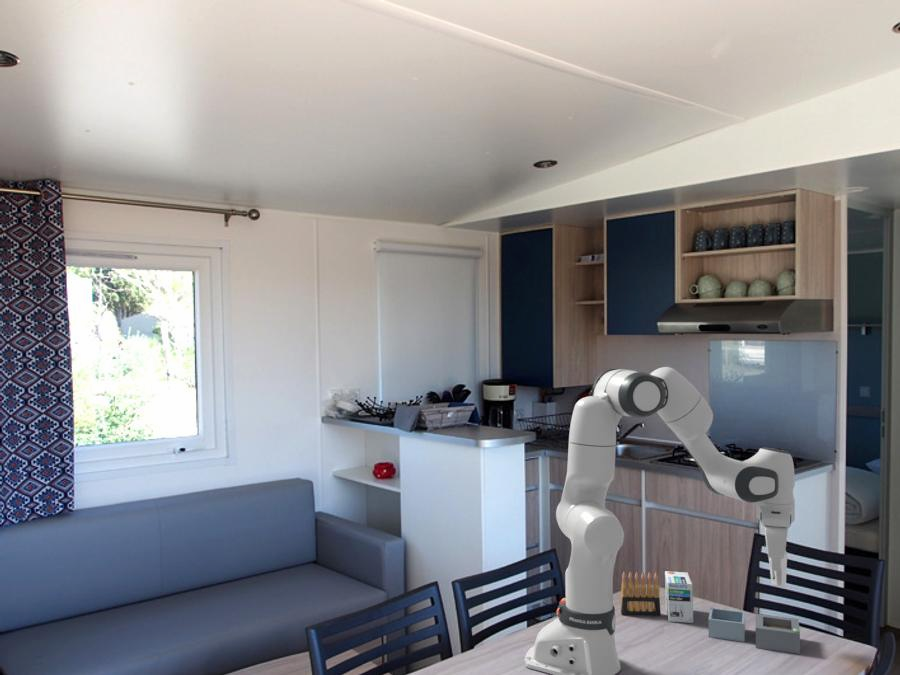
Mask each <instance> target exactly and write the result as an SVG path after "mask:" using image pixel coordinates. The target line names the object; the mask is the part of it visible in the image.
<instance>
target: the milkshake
mask: <svg viewBox="0 0 900 675" xmlns="http://www.w3.org/2000/svg"><path fill="white" fill-rule="evenodd" d="M765 549H766V550H765V551H767V548H765ZM767 557H768V556H767ZM768 563H769V564H768V565H769V574H770V580H771V582H770V583H771V585H772V586H773V587H778V588H783V587H786V585H787V570H788V569H787V568H788V566H787V564H788V552H787V550H785V556H784V559H780V570H779V571H774V570H772V560H771V558H769V557H768Z"/></svg>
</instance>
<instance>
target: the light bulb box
mask: <svg viewBox="0 0 900 675" xmlns="http://www.w3.org/2000/svg"><path fill="white" fill-rule="evenodd" d="M664 583H665V584H664V585H665V587H664V588H665V591H664V592H665V610H666V615H667V620H668V622H672V623H687V624H694V593H693V586H694V585H693V582H692V580H691V577H690V575H689V572H685V571H684V572H683V571H682V572H681V571H668V570H667V571H666V570H665V571H664Z"/></svg>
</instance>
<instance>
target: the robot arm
mask: <svg viewBox="0 0 900 675" xmlns="http://www.w3.org/2000/svg"><path fill="white" fill-rule="evenodd" d="M572 410H573V411H572V415H571V420H570V426H569V434H568V447H567V448H568V449H567V450H568V452H567V463H566V464H567V467H566V468H567V469H566V476H565V482H564V486H563V490H562V494H561V498H560V502H558V505H557V507H556V511H555V519H556V522H557V524H558V527H559V529H560V530H561V532H562V533H563V535H565V537H566V538H568V539H569V540H570V543H571V553H570V559H569V563H568V567H567V568H566V570H565V573H564V577H565V580H564V581H565V597H563V598H562V599H561V600H560V601H559V605H558V606H557V608H556V609H557V610H556V616H557V618H555V619H554V620H553V621H551V622H549V623H548V624H546V625H545V626H543V627H542V628H541V630H540V631H539V632H538V633H537V636H536V638H535V642H534V645H533V646H531V647H530V648H529V649H528V651H527V652H526V654H525V657H524V665H525V667H526V668H529V669H530V670H531V669H532V670H535V671H538V672H543V673H545V674H549V675H616V674H618V673H619V672H620V671H621V669H622V665H621V662H620V659H619V655H618V651H617V650H618V649H617V645H616V638H615V632H616V625H617V624H616V610H615V609H616V608H615V605H614V604H613V603H614V600H613V598H614V595H613V594H614V592H613V586H614V584H613V582H614V580H613V578H614V577H613V576H614V568H615V564H616V558H617V554H618V552H619V550H620V549H621V548H622V546H623V544H624V539H625V533H624V532H625V531H624V529H623V525H622V524H621V522H620V520H619V519H618V517H617V516H616V515H615V514H614V513H613V512H612V511H611V510H610V509H608V508H606V497H607V493H608V491H609V487H610V485H611V483H612V482H613V481H614V478H615V468H616V466H615V465H616V446H617V445H616V444H617V430H618V425H619V423H620V421H621V419H622V418H623V416H625V417H630V418H631V417H632V418H637V419H642V418H647V417H648V418H649V417H651V416H652V415H655V414H656V413H657V415H658V416H659V417H660V418H661V420H662V421H663V422H664V424H666V426H667V427H668V428H669V429H670V430H671V431H672V433H674V434H675V436H676V437H677V439H678V440H679V442H680V443H681V445H682V446H683V447H684V449H685V450H686V451H687V453H689V455H690V456H691V458H692V459H693V460H694V461H695V463H696V465H697V466H698V468H699V470H700V472H701V475H702V479H703V482H704V484H705V486H706V488H707V489H708V490H710V491H711V492H712V493H713V494H715V495H720V496H724V497H725V496H727V497H729V498H732V499H735V500H738V501H741V502H745V503H749V504H750V503H756V518H757V520H759V521H760V523H761V525H762V526H763V529H764V537H765V544H766V545H765V548H766V549H767V550H766V552H767V557H769V558H771V560H772V570H774V571H779V570H780V559H784V556H785V551H787V550H786V548H787V540H788V539H787V538H788V531H789V528H791V526H792V524H793V522H795V520H796V515H795V514H796V512H795V510H796V508H795V507H796V504H795V503H796V501H795V497H794V489H795V483H796V481H795V480H796V478H795V465H794V461H793V456H792V455H791V453H789V452H788V451H786V450H783V449H777V448H771V447H766V446H765V447H761V448H759V450H758V451H757V452H756V453H755V454H754V455H752V456H751V457H749V458H748V459H745V460H743V461H742V460H738V459H734V458H732V457H728V456H726V455H724V454H722V453H721V452H719V450H718V449H717V447H716V446H715V444H714V443H713V442H712V441H711V439H710V438H709V437H708V435H707V434H706V432H708V430H709V429H710V428H711V426H712V423H713V419H714V413H713V411H712V408H711V406H710V405H709V402H707V400H706V398H704V396H703V395H702V394H701V393H700V392H699V390H698V389H697V388H696V387H695V386H694V385H693V384H692V383H691V382H690V381H689V379H687V378H686V377H684V375H682V374H681V373H680V372H678V370H676V369H675V368H673V367H670V366H662V367H659V368H657V369H655V370H653V371H651V372H650V373H648V372H644V371H643V372H642V371H640V372H639V371H636V370H633V369H627V368H626V369H625V368H622V369H619V368H613V369H612V368H611V369H607V370H606V371H603V372H602V373H600V374H599V375H598V376H597V377H596V379H595V380H594V382H593V385H592V387H591V390H590V391H589V393H588V396H585V397H582V398H580V399H579V400H578V401H577V402H576V403H575V404H574V407H573V409H572ZM769 558H768V559H769Z"/></svg>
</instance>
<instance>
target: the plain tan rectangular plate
mask: <svg viewBox="0 0 900 675" xmlns="http://www.w3.org/2000/svg"><path fill="white" fill-rule="evenodd" d="M764 626H765V627H773V628H780V629H788V630H790V628H787V627H779V626H772V625H764Z"/></svg>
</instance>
